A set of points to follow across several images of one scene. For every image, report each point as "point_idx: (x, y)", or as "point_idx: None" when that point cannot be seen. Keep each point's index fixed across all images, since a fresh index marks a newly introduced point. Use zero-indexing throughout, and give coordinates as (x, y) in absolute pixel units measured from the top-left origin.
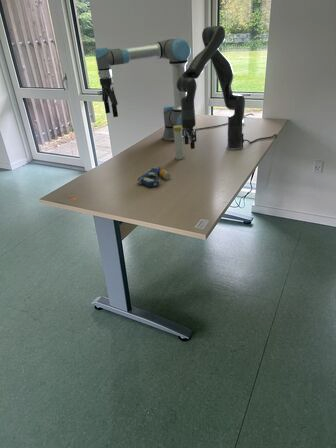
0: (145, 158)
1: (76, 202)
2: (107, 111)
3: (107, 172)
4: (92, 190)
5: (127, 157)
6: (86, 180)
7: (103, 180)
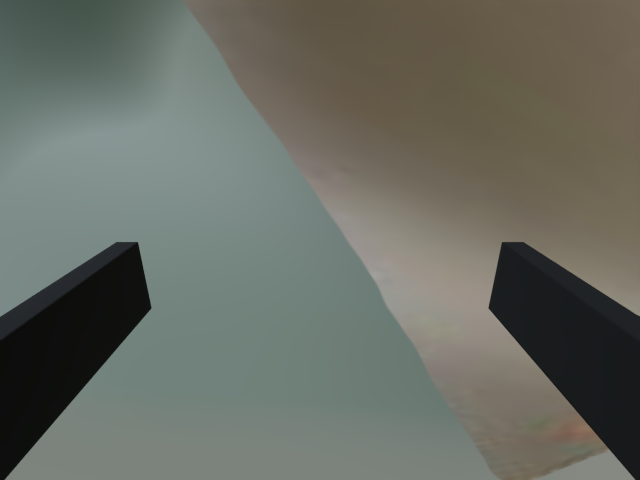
0: (443, 25)
1: None
2: (131, 298)
3: (463, 279)
4: None
5: (343, 116)
6: (473, 366)
7: None
